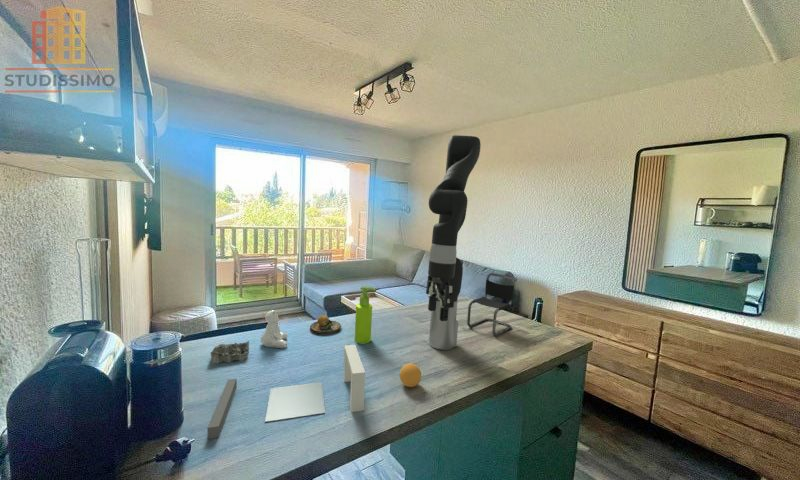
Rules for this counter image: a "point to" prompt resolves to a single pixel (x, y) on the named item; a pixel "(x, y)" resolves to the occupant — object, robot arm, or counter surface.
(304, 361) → the counter surface
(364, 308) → the soap dispenser
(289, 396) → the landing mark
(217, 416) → the wall
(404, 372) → the ball
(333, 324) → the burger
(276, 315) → the seated beast figurine
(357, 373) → the bridge
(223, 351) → the egg carton
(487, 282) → the chair
